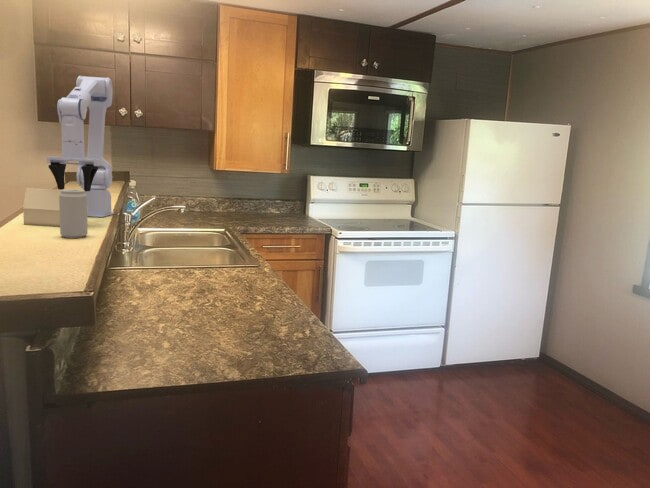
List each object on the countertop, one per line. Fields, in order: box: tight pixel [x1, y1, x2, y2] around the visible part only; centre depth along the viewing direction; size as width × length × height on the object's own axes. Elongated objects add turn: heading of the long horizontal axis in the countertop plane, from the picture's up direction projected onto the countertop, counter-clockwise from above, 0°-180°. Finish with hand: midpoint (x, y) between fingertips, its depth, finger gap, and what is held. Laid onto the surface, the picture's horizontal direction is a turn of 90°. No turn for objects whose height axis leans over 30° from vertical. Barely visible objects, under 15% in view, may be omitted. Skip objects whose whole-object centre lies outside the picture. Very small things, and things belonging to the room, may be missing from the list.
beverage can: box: [59, 189, 89, 239], centre depth 140 cm, size 6×6×12 cm
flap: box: [22, 187, 61, 211], centre depth 153 cm, size 6×11×1 cm
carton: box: [22, 208, 60, 228], centre depth 156 cm, size 6×11×4 cm, turn 88°
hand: (74, 190), depth 155 cm, fingers open, 7 cm apart
